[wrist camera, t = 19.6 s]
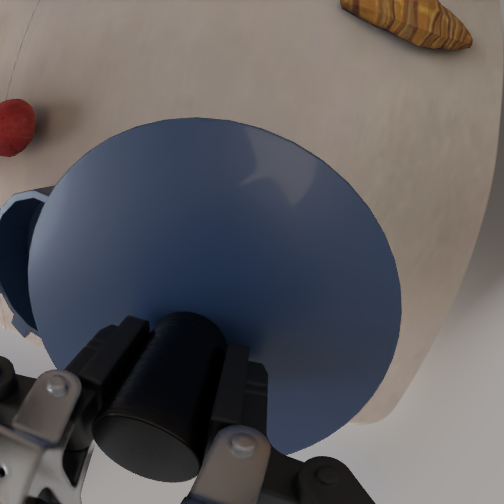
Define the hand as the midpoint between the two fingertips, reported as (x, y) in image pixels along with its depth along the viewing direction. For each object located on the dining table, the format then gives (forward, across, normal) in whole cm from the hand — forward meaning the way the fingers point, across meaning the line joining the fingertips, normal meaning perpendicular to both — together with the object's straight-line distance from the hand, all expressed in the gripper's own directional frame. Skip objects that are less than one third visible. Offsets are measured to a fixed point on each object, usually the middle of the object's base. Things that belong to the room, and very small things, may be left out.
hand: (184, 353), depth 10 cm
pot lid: (+1, 0, 0) cm, 1 cm away
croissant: (+17, -11, -24) cm, 31 cm away
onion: (+17, +24, -7) cm, 30 cm away
